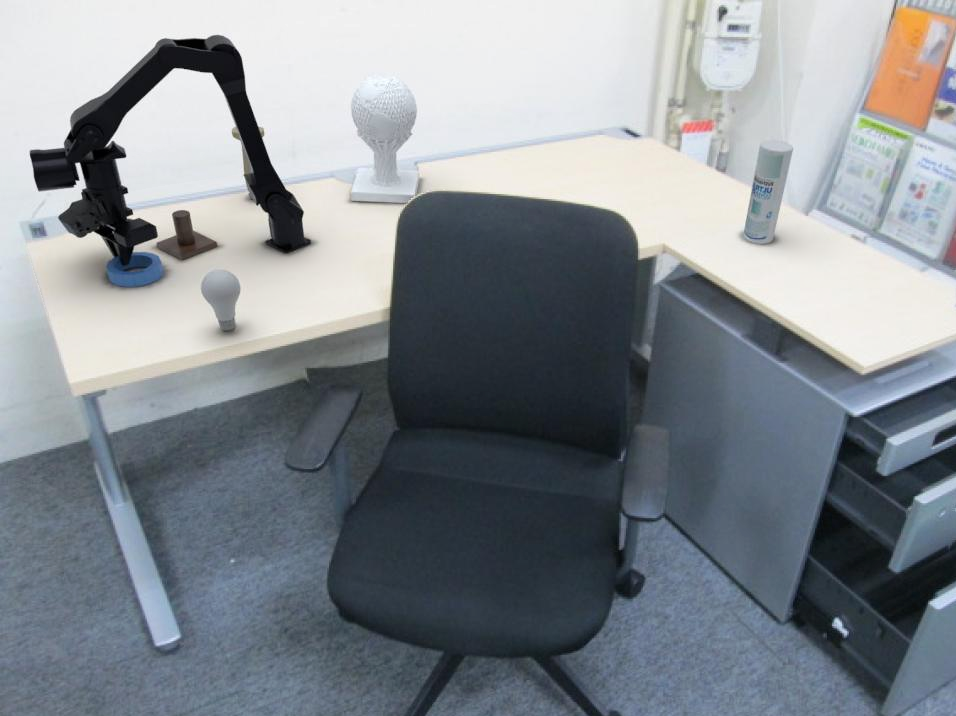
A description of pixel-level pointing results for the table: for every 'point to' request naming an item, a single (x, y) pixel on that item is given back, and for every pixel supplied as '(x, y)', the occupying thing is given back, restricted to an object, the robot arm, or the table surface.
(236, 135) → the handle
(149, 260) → the tape
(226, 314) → the lightbulb
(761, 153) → the spray can
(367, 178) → the trophy
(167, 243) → the peg stand
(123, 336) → the table surface
